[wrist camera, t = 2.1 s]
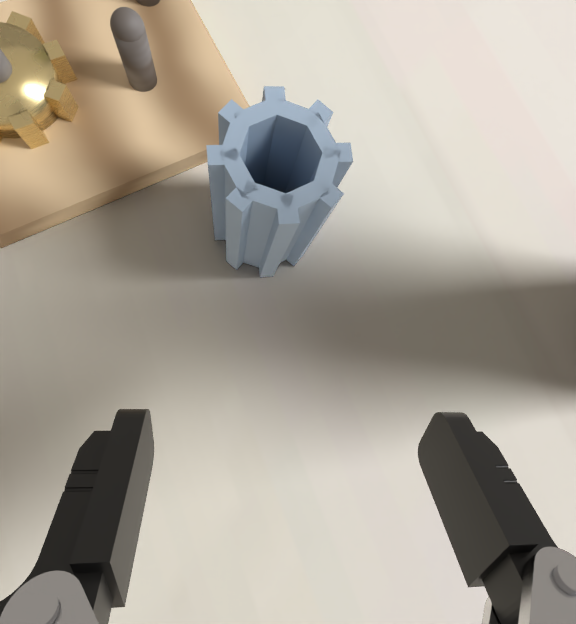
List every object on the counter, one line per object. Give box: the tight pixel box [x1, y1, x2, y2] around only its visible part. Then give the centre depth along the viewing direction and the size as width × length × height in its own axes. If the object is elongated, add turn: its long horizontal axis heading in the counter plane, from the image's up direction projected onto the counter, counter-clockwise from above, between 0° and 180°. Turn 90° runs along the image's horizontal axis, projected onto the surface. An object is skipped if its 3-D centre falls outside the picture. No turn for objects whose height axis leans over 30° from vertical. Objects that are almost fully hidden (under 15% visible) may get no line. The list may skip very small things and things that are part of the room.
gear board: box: [0, 0, 250, 248], centre depth 24 cm, size 18×14×6 cm
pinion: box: [206, 86, 353, 277], centre depth 22 cm, size 6×6×10 cm
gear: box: [0, 11, 79, 149], centre depth 24 cm, size 8×8×2 cm
